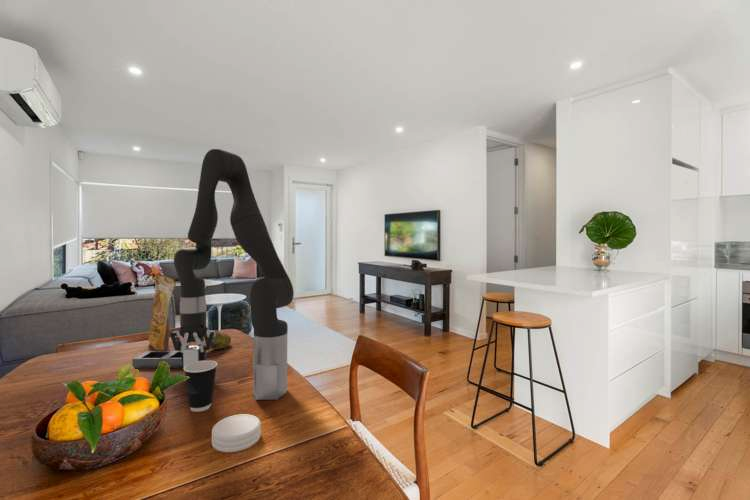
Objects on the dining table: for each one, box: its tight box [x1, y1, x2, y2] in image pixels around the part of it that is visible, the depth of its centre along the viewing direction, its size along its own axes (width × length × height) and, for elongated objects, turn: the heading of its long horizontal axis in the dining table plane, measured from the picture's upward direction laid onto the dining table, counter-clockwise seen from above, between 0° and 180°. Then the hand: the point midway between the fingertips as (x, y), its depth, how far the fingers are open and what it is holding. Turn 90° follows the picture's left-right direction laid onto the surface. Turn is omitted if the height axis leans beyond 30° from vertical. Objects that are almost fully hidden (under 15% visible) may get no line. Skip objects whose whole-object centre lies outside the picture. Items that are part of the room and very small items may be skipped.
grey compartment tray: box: [131, 350, 184, 369], centre depth 121 cm, size 8×20×3 cm, turn 94°
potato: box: [204, 329, 232, 350], centre depth 138 cm, size 8×13×8 cm, turn 140°
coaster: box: [211, 413, 262, 453], centre depth 77 cm, size 10×10×4 cm
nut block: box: [183, 345, 200, 366], centre depth 113 cm, size 4×4×6 cm
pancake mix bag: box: [148, 274, 177, 351], centre depth 141 cm, size 7×19×28 cm, turn 44°
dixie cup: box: [182, 359, 218, 412], centre depth 91 cm, size 8×8×11 cm
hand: (194, 362), depth 113 cm, fingers closed on nut block, 4 cm apart
